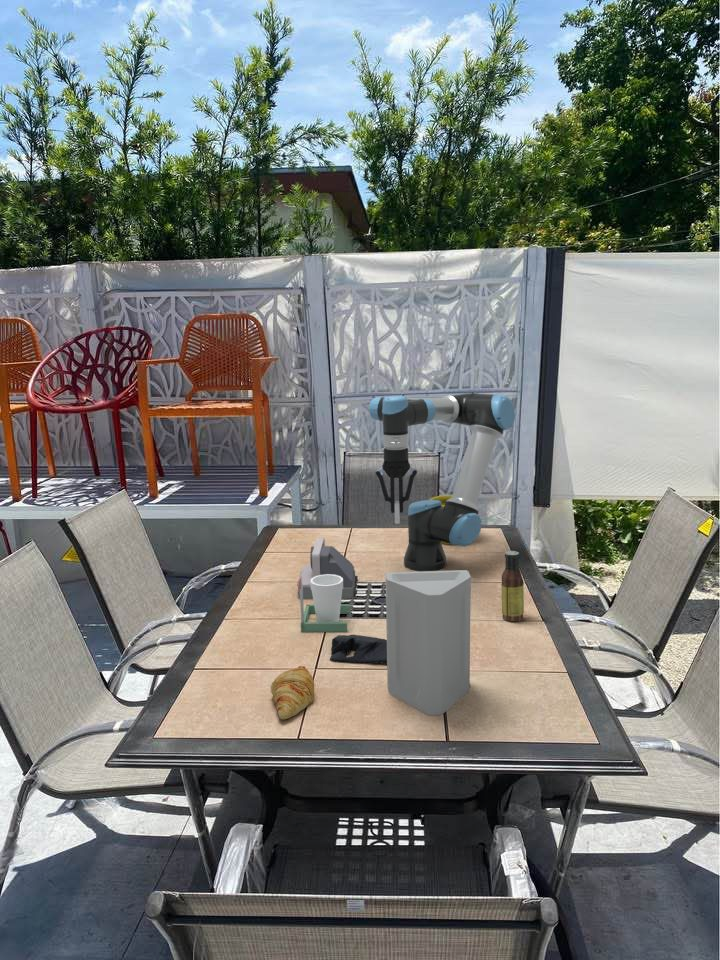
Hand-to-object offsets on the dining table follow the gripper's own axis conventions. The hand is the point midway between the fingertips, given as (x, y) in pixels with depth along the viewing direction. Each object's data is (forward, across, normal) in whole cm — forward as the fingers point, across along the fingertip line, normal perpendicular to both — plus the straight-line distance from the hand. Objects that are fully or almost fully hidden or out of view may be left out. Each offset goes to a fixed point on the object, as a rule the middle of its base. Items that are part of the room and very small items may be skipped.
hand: (397, 522), depth 218 cm
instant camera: (+25, -23, +7) cm, 34 cm away
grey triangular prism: (+24, +6, -63) cm, 68 cm away
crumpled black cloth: (+25, -7, -40) cm, 47 cm away
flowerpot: (+25, +22, +59) cm, 68 cm away
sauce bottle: (+25, +33, -18) cm, 45 cm away
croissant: (+24, -26, -63) cm, 72 cm away
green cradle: (+24, -21, -22) cm, 39 cm away
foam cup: (+24, -21, -20) cm, 38 cm away
